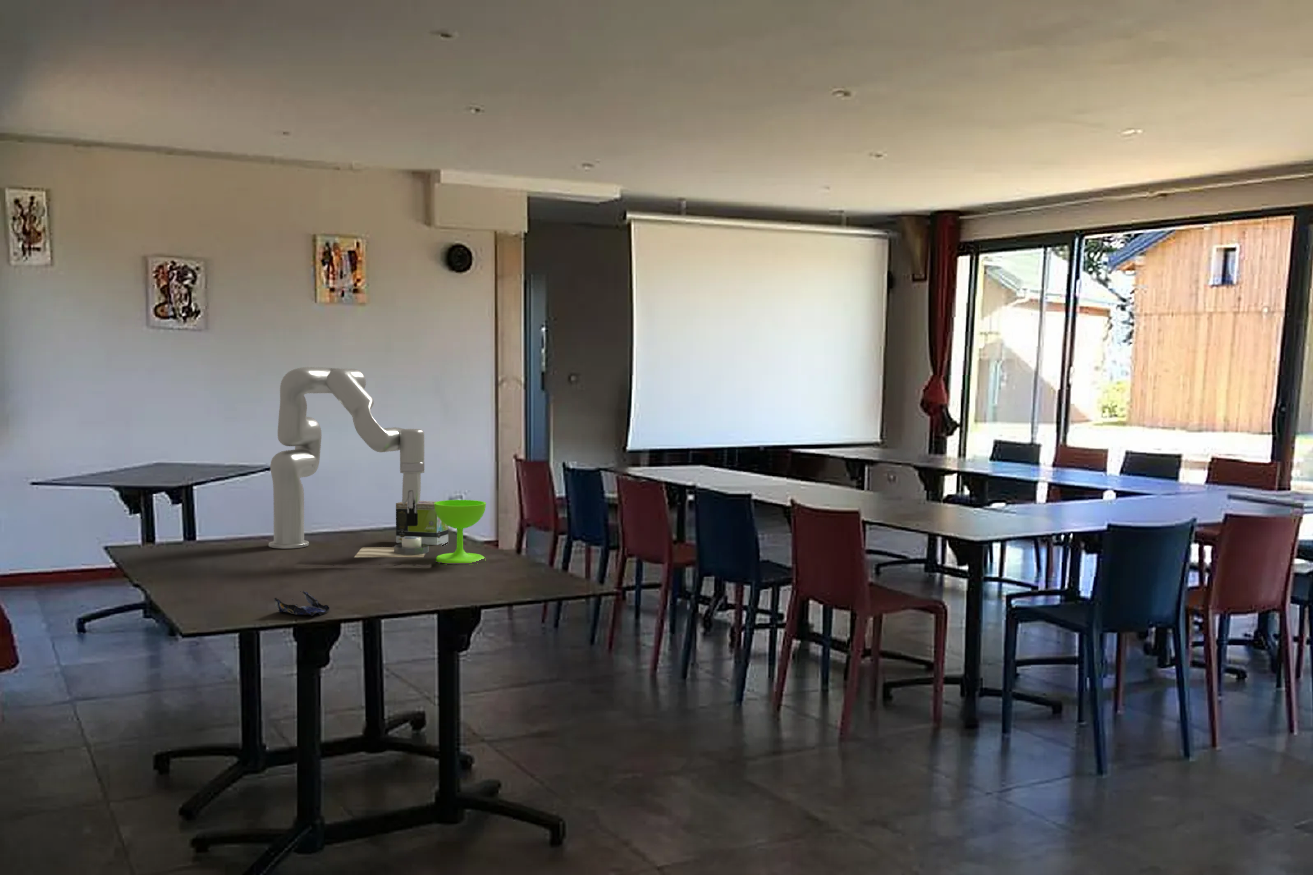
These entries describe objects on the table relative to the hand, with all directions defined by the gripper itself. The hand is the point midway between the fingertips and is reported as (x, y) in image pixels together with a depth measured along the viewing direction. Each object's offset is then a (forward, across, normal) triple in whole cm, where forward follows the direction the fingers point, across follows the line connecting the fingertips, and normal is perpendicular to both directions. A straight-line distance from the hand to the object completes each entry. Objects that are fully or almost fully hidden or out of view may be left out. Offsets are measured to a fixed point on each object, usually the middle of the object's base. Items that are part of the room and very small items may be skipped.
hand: (412, 525), depth 345 cm
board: (+10, 0, -6) cm, 11 cm away
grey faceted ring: (+9, 0, 0) cm, 9 cm away
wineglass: (+10, +8, +15) cm, 20 cm away
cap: (+8, 0, 0) cm, 9 cm away
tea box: (+10, -21, +1) cm, 23 cm away
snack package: (+10, +80, -18) cm, 83 cm away
